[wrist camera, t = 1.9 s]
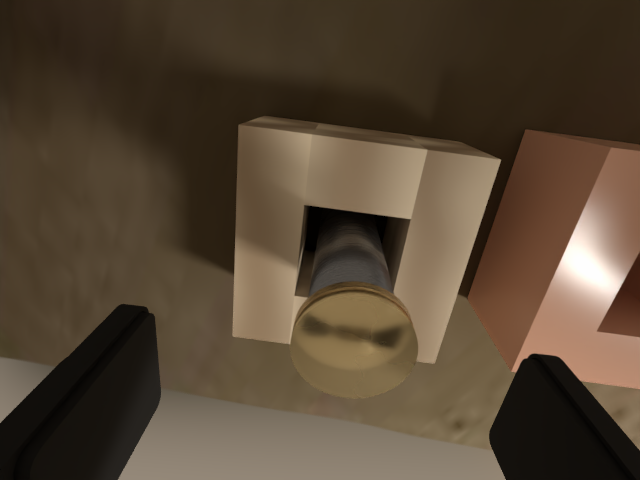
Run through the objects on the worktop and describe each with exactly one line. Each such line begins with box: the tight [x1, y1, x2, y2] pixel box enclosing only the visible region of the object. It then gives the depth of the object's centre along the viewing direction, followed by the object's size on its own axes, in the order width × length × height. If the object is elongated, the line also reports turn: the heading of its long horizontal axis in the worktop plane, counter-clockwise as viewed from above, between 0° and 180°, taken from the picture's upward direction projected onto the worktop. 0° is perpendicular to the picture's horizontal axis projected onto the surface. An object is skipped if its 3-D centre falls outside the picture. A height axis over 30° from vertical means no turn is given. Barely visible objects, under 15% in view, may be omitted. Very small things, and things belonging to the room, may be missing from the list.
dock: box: [467, 129, 640, 389], centre depth 17 cm, size 10×10×6 cm
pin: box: [290, 208, 418, 398], centre depth 15 cm, size 4×4×11 cm
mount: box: [233, 116, 501, 364], centre depth 17 cm, size 10×10×5 cm
